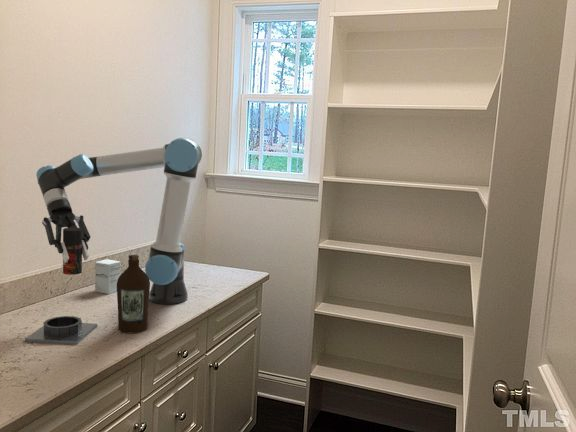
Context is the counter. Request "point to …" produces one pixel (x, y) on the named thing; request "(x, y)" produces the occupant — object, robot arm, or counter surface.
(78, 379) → the counter surface
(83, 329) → the duct flange
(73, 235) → the deodorant
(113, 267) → the supplement box
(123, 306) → the olive oil
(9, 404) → the counter surface
